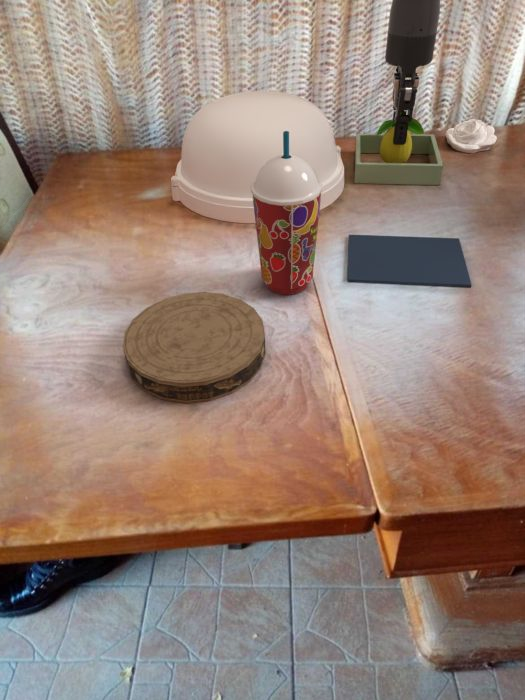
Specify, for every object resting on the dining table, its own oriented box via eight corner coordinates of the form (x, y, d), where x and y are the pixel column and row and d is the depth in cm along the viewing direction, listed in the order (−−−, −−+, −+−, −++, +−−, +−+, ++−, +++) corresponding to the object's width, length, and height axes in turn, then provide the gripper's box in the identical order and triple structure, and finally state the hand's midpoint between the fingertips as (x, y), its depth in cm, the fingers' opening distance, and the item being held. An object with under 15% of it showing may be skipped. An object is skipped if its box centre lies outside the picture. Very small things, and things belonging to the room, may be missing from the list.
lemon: (418, 171, 98) (427, 114, 91) (389, 177, 96) (396, 119, 90) (399, 158, 102) (406, 102, 96) (371, 163, 101) (377, 107, 94)
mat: (458, 240, 79) (459, 238, 79) (471, 287, 70) (471, 284, 70) (348, 236, 81) (348, 234, 81) (347, 281, 72) (347, 279, 72)
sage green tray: (431, 152, 104) (434, 134, 101) (439, 185, 93) (443, 165, 91) (354, 151, 106) (356, 133, 103) (354, 183, 95) (355, 164, 92)
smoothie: (327, 294, 70) (336, 139, 57) (266, 306, 69) (260, 151, 55) (305, 261, 76) (308, 115, 63) (249, 272, 75) (239, 124, 61)
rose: (509, 118, 104) (489, 133, 98) (503, 141, 106) (483, 157, 101) (460, 109, 109) (438, 123, 103) (455, 131, 111) (434, 146, 106)
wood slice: (196, 296, 71) (193, 277, 69) (293, 344, 63) (293, 324, 61) (99, 361, 62) (92, 342, 60) (197, 426, 54) (194, 406, 52)
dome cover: (307, 140, 111) (308, 65, 101) (381, 200, 89) (391, 112, 80) (154, 167, 103) (141, 89, 94) (195, 240, 82) (183, 148, 72)
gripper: (442, 39, 79) (423, 154, 90) (432, 19, 89) (416, 124, 101) (390, 39, 80) (377, 153, 91) (386, 19, 90) (375, 124, 102)
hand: (398, 137), depth 96 cm, fingers closed on lemon, 4 cm apart
